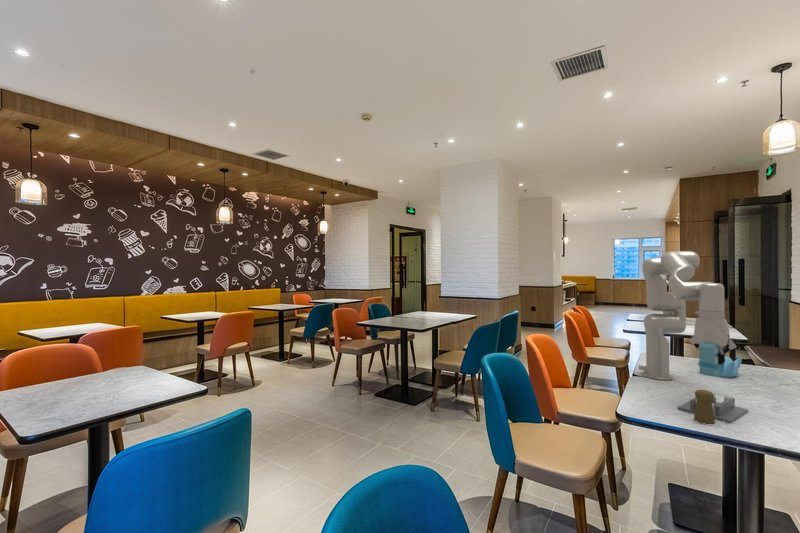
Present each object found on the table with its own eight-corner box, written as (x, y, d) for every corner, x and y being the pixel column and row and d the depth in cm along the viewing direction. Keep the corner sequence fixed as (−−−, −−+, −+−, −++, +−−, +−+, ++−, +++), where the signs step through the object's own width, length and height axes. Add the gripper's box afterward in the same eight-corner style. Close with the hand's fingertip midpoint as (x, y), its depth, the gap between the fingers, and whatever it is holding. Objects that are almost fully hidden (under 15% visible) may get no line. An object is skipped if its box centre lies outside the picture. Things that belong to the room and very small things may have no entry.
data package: (714, 377, 140) (714, 345, 140) (699, 374, 143) (699, 343, 143) (724, 372, 146) (724, 341, 147) (710, 369, 150) (709, 339, 150)
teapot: (705, 368, 204) (705, 348, 204) (742, 374, 192) (742, 353, 192) (696, 373, 195) (696, 352, 195) (735, 380, 183) (734, 358, 183)
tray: (677, 409, 146) (677, 396, 146) (697, 399, 157) (697, 387, 157) (730, 423, 133) (730, 409, 133) (748, 411, 143) (748, 398, 143)
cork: (689, 418, 138) (689, 388, 138) (704, 417, 138) (704, 387, 138) (703, 425, 132) (703, 393, 132) (719, 424, 132) (719, 393, 132)
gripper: (681, 313, 150) (682, 359, 150) (736, 318, 136) (737, 369, 136) (689, 312, 154) (689, 357, 154) (743, 316, 140) (744, 366, 140)
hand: (712, 362), depth 145 cm, fingers closed on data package, 4 cm apart
